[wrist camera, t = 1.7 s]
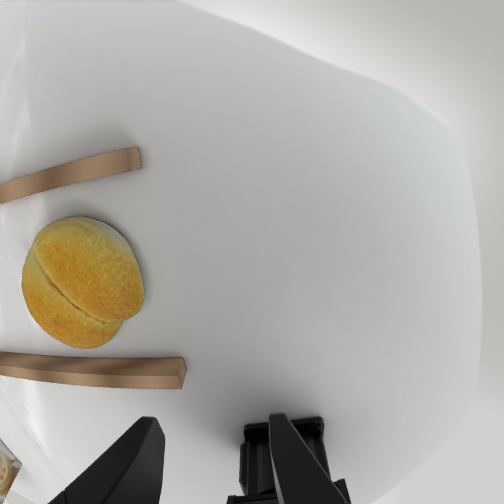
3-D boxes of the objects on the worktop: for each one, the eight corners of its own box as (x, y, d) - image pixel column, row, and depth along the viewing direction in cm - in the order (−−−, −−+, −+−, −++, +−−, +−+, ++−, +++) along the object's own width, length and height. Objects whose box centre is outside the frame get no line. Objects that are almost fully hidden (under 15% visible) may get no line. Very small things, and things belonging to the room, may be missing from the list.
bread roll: (171, 274, 20) (153, 305, 16) (98, 348, 22) (77, 381, 18) (79, 182, 18) (43, 193, 14) (22, 272, 20) (-9, 295, 16)
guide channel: (139, 147, 17) (110, 149, 13) (186, 370, 22) (176, 409, 18) (-67, 213, 18) (-96, 225, 14) (-16, 359, 23) (-37, 381, 19)
